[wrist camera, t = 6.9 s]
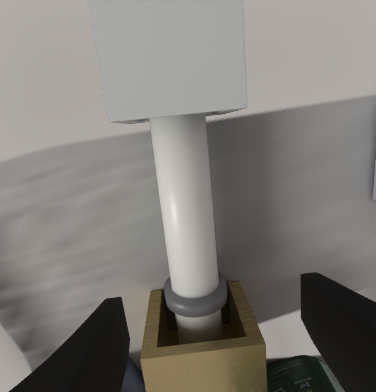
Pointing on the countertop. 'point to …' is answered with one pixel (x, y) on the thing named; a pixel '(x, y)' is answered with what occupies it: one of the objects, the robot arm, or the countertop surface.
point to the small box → (133, 379)
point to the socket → (204, 353)
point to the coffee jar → (301, 376)
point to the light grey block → (169, 57)
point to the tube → (189, 227)
